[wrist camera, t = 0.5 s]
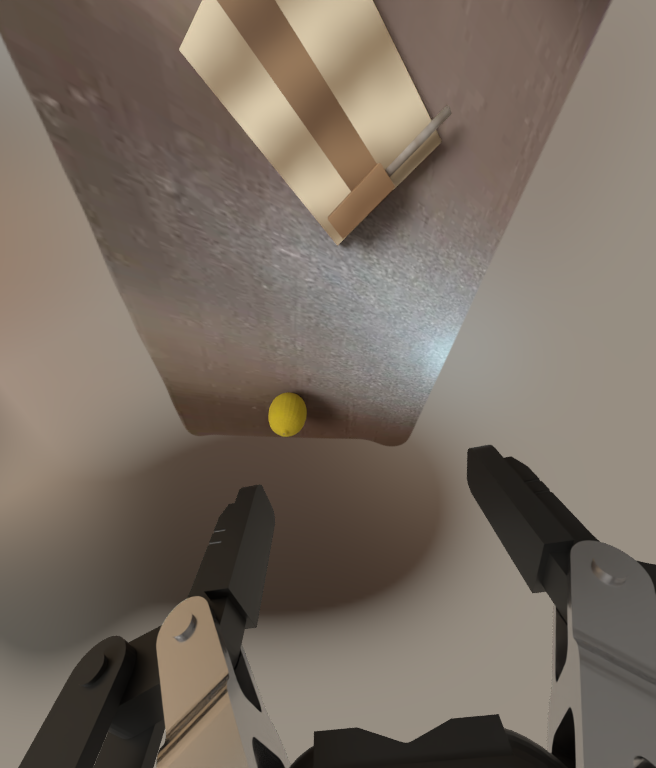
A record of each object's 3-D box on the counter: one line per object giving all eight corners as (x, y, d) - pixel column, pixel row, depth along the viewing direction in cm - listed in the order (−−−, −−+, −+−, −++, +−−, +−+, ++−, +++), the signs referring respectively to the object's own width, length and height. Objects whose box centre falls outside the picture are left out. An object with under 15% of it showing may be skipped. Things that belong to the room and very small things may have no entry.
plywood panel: (185, 55, 21) (179, 49, 20) (288, -156, 16) (286, -178, 15) (337, 243, 29) (337, 245, 28) (437, 143, 24) (441, 141, 23)
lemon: (284, 376, 40) (275, 413, 34) (314, 393, 42) (312, 431, 36) (267, 398, 43) (256, 437, 37) (296, 413, 45) (291, 452, 39)
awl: (327, 216, 26) (327, 219, 25) (437, 98, 21) (446, 91, 20) (342, 235, 27) (342, 239, 26) (450, 126, 22) (460, 121, 21)
